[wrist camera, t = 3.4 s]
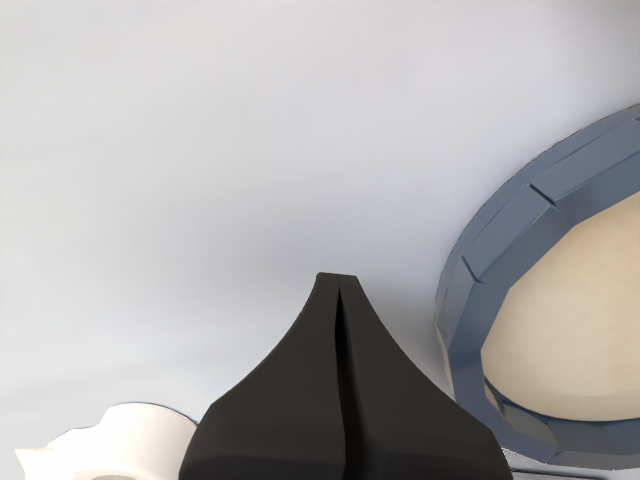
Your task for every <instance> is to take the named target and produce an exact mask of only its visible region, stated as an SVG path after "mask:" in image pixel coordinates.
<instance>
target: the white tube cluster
mask: <svg viewBox="0 0 640 480" xmlns="http://www.w3.org/2000/svg"><path fill="white" fill-rule="evenodd" d="M196 428H197V426H196V425H195V424H194V423H193V422H192V421H191V420H189V419H188V418H186V417H185V416H183V415H181V414H179V413H177V412H175V411H173V410H170V409H168V408H165V407H161V406H158V405H153V404H146V403H125V404H120V405H116V406H113V407H111V408H109V409H108V411H107V412H106V414H105V416H104V417H103V419H102V421H101V422H100V424H99V425H96V426H94V427H90V428H84V429H71V430H70V431H68V432H66V433H64V434H63V435H61V436H59V437H58V438H56V439H54V440H52V441H51V442H50V443H49V444H48V446H47V447H46V448H29V449H14V451H15V453H16V455H17V457H18V459H19V462H20V464H21V466H22V468H23V470H24V472H25V474H26V477H25V478H24V480H178V475H179V470H180V467H181V464H182V461H183V458H184V456H185V453H186V450H187V447H188V445H189V443H190V441H191V438H192V436H193V434H194V432H195V430H196Z"/></svg>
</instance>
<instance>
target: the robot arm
mask: <svg viewBox="0 0 640 480" xmlns="http://www.w3.org/2000/svg"><path fill="white" fill-rule="evenodd" d="M178 480H593V479H582V478H572V477H561V476H551V475H540V474H529V473H519V472H511V470H510V467H509V465H508V462H507V460H506V458H505V455H504V453H503V451H502V449H501V447H500V445H499V443H498V441H497V439H496V438H495V436H494V433H493V431H492V430H491V429H490V428H488V427H487V426H485V425H484V424H483V423H481V422H480V421H479V420H477V419H476V418H475V417H473V416H472V415H471V414H469V413H468V412H467V411H465V410H464V409H463V408H461V407H460V406H459V405H458V404H457V403H455V402H454V401H453V400H452V399H451V398H449V397H448V396H447V395H446V394H445V393H444V392H442V391H441V390H440V389H439V388H438V387H437V386H436V385H435V384H434V383H433V382H432V381H431V380H430V379H429V378H428V377H427V376H426V375H424V374H423V373H422V372H421V371H420V370H419V369H418V368H417V367H416V365H415V364H414V363H413V362H412V361H411V360H410V359H409V358H408V357H407V355H406V354H405V353H404V352H403V351H402V349H401V348H400V347H399V346H398V344H397V343H396V342H395V340H394V339H393V338H392V336H391V335H390V334H389V332H388V331H387V329H386V328H385V326H384V325H383V323H382V322H381V320H380V319H379V317H378V316H377V314H376V312H375V311H374V309H373V307H372V306H371V304H370V302H369V300H368V298H367V297H366V295H365V293H364V291H363V289H362V287H361V285H360V283H359V280H358V278H357V277H356V276H352V275H342V274H333V273H323V272H320V273H318V274H317V276H316V281H315V284H314V287H313V290H312V292H311V294H310V296H309V298H308V300H307V302H306V304H305V306H304V307H303V309H302V311H301V312H300V314H299V316H298V317H297V319H296V320H295V322H294V323H293V325H292V326H291V328H290V329H289V330H288V332H287V333H286V334H285V336H284V337H283V338H282V340H281V341H280V342H279V343H278V344H277V346H276V347H275V348H274V349H273V350H272V351H271V352H270V353H269V355H268V356H267V357H266V358H265V359H264V360H263V361H262V362H261V363H260V364H259V365H258V366H257V367H256V368H255V369H254V370H252V371H251V372H250V373H249V374H248V375H247V376H246V377H245V378H244V379H243V380H242V381H240V382H239V383H238V384H237V385H236V386H234V387H233V388H232V389H231V390H229V391H228V392H227V393H225V394H224V395H223V396H221V397H220V398H219V399H218V400H216V401H215V402H214V403H212V404H211V405H210V407H209V409H208V410H207V412H206V413H205V415H204V416H203V418H202V420H201V421H200V423H199V425H198V427H197V428H196V430H195V432H194V434H193V436H192V438H191V441H190V443H189V445H188V447H187V450H186V453H185V456H184V458H183V461H182V464H181V467H180V470H179V475H178Z"/></svg>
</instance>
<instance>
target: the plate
mask: <svg viewBox="0 0 640 480" xmlns="http://www.w3.org/2000/svg"><path fill="white" fill-rule="evenodd" d="M434 318H435V329H436V335H437V339H438V342H439V346H440V349H441V352H442V355H443V361H444V366H445V372H446V376H447V379H448V382H449V385H450V388H451V391H452V394H453V397H454V400H455V403H457V404H458V405H459V406H460V407H461V408H463V409H464V410H465V411H467V412H468V413H469V414H471V415H472V416H473V417H475V418H476V419H477V420H479V421H480V422H481V423H483V424H484V425H485V426H487V427H488V428H490V429H491V430H492V431H493V433H494V436H495V438H496V439H497V441H498V443H499V445H500V446H502V447H504V448H507V449H509V450H512V451H514V452H517V453H519V454H522V455H524V456H527V457H529V458H532V459H534V460H537V461H539V462H542V463H547V464H548V465H559V466H569V467H580V468H590V469H601V470H613V469H614V470H623V469H632V468H640V104H639V105H636V106H633V107H630V108H627V109H625V110H623V111H620V112H618V113H616V114H613V115H611V116H609V117H607V118H604V119H602V120H600V121H597V122H595V123H593V124H591V125H589V126H587V127H586V128H584V129H582V130H580V131H578V132H577V133H575V134H573V135H571V136H569V137H568V138H566V139H564V140H562V141H560V142H559V143H557V144H556V145H554V146H553V147H552V148H550V149H549V150H547V151H546V152H544V153H543V154H541V155H540V156H538V157H537V158H536V159H534V160H533V161H531V162H530V163H528V164H527V165H526V166H525V167H524V168H523V169H521V170H520V171H519V172H518V173H517V174H516V175H514V176H513V177H512V178H511V179H510V180H508V181H507V182H506V183H505V184H504V185H503V186H502V187H501V188H500V189H499V190H498V191H497V192H496V193H495V194H494V195H493V196H492V197H491V198H490V199H489V200H488V201H487V202H486V203H485V204H484V205H483V206H482V208H481V209H480V210H479V211H478V213H477V214H476V215H475V217H474V218H473V219H472V221H471V222H470V223H469V224H468V226H467V227H466V228H465V230H464V231H463V233H462V234H461V236H460V238H459V240H458V241H457V243H456V245H455V246H454V248H453V250H452V251H451V253H450V255H449V258H448V260H447V263H446V265H445V267H444V270H443V272H442V274H441V278H440V282H439V286H438V290H437V294H436V301H435V312H434Z"/></svg>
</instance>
